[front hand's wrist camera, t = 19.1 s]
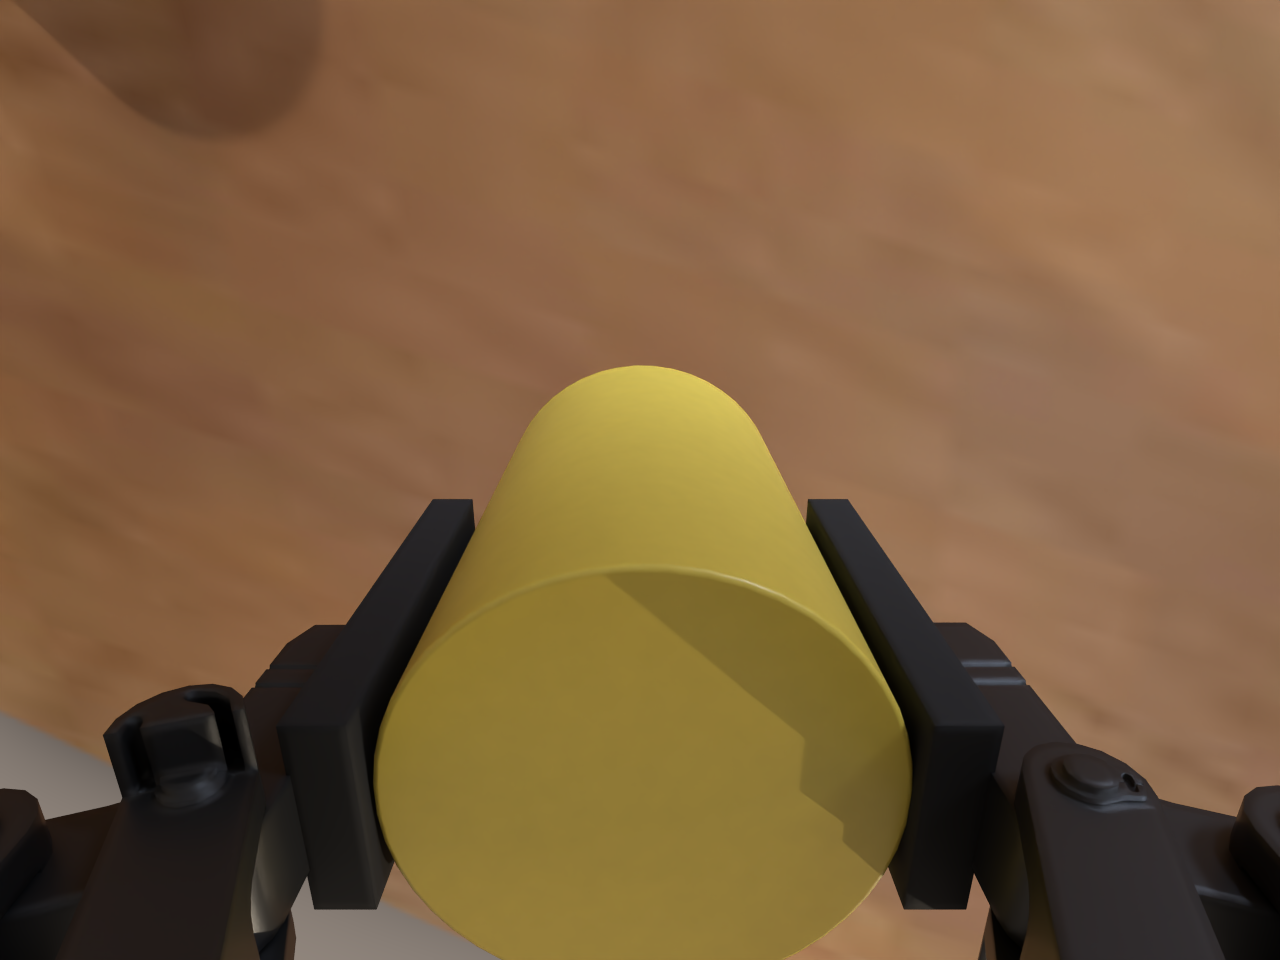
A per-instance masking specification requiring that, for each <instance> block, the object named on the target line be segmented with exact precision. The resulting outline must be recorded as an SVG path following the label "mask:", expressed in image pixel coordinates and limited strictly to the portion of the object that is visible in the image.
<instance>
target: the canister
mask: <svg viewBox="0 0 1280 960" xmlns="http://www.w3.org/2000/svg"><path fill="white" fill-rule="evenodd" d="M912 775H913V763H912V756H911V749H910V742H909V736H908V733H907V729H906V726H905V723H904V720H903V717H902V714H901V711H900V708H899V706H898V704H897V702H896V700H895V698H894V696H893V694H892V692H891V690H890V688H889V686H888V684H887V682H886V680H885V678H884V676H883V675H882V673H881V671H880V669H879V667H878V665H877V663H876V661H875V659H874V657H873V655H872V653H871V651H870V649H869V647H868V645H867V643H866V641H865V639H864V637H863V635H862V633H861V631H860V629H859V627H858V625H857V623H856V622H855V620H854V618H853V616H852V614H851V612H850V610H849V608H848V606H847V604H846V602H845V600H844V598H843V596H842V594H841V592H840V590H839V588H838V586H837V584H836V582H835V580H834V578H833V576H832V574H831V572H830V570H829V569H828V567H827V565H826V563H825V561H824V559H823V557H822V555H821V553H820V551H819V549H818V547H817V545H816V543H815V541H814V539H813V537H812V535H811V533H810V531H809V529H808V527H807V525H806V523H805V521H804V519H803V517H802V516H801V514H800V512H799V510H798V508H797V506H796V504H795V502H794V500H793V498H792V496H791V494H790V492H789V490H788V488H787V486H786V484H785V482H784V480H783V478H782V476H781V474H780V472H779V470H778V468H777V466H776V464H775V463H774V461H773V459H772V457H771V455H770V453H769V451H768V449H767V447H766V445H765V443H764V441H763V439H762V437H761V435H760V433H759V431H758V429H757V427H756V426H755V425H754V423H753V422H752V420H751V419H750V418H749V416H748V415H747V414H746V412H745V411H744V410H743V409H742V408H741V407H740V406H739V405H738V404H737V403H736V402H735V401H734V400H733V399H732V398H730V397H729V396H728V395H727V394H725V393H724V392H723V391H722V390H720V389H718V388H717V387H715V386H714V385H712V384H710V383H709V382H707V381H705V380H703V379H700V378H698V377H696V376H693V375H691V374H689V373H685V372H682V371H678V370H675V369H670V368H664V367H657V366H628V367H618V368H614V369H610V370H606V371H601V372H598V373H596V374H593V375H590V376H588V377H585V378H583V379H581V380H579V381H577V382H575V383H574V384H572V385H570V386H568V387H566V388H565V389H564V390H562V391H561V392H560V393H558V394H557V395H556V396H554V397H553V398H552V399H551V400H550V401H549V402H548V403H547V404H546V405H545V406H544V407H543V408H542V409H541V410H540V411H539V412H538V413H537V415H536V416H535V417H534V419H533V420H532V421H531V422H530V424H529V426H528V427H527V429H526V431H525V432H524V434H523V436H522V438H521V440H520V442H519V444H518V446H517V448H516V450H515V452H514V454H513V456H512V458H511V460H510V462H509V464H508V466H507V468H506V470H505V472H504V474H503V476H502V478H501V480H500V482H499V484H498V486H497V488H496V490H495V492H494V494H493V496H492V498H491V500H490V502H489V504H488V506H487V507H486V509H485V511H484V513H483V515H482V517H481V519H480V521H479V523H478V525H477V527H476V529H475V531H474V533H473V535H472V537H471V539H470V541H469V543H468V545H467V547H466V549H465V551H464V553H463V555H462V557H461V559H460V561H459V563H458V565H457V567H456V569H455V571H454V573H453V575H452V577H451V579H450V581H449V583H448V585H447V587H446V589H445V591H444V593H443V595H442V597H441V599H440V601H439V603H438V605H437V607H436V609H435V611H434V613H433V615H432V617H431V619H430V621H429V623H428V625H427V627H426V629H425V631H424V633H423V635H422V637H421V639H420V641H419V643H418V645H417V647H416V649H415V651H414V653H413V655H412V657H411V659H410V661H409V663H408V665H407V667H406V669H405V671H404V673H403V675H402V677H401V679H400V681H399V683H398V685H397V687H396V689H395V691H394V693H393V695H392V697H391V699H390V702H389V704H388V707H387V709H386V712H385V715H384V717H383V720H382V722H381V725H380V728H379V733H378V738H377V743H376V748H375V753H374V769H373V788H374V795H375V803H376V810H377V816H378V819H379V823H380V826H381V829H382V833H383V836H384V839H385V842H386V844H387V846H388V848H389V850H390V852H391V855H392V857H393V859H394V861H395V863H396V865H397V867H398V868H399V870H400V871H401V873H402V874H403V876H404V877H405V879H406V880H407V882H408V883H409V885H410V886H411V888H412V889H413V890H414V892H415V893H416V894H417V895H418V896H419V897H420V898H421V899H422V901H423V902H424V903H425V904H426V905H427V906H428V907H429V908H430V910H431V911H432V912H434V913H435V914H436V915H437V916H438V917H439V918H440V919H441V920H443V921H444V922H445V923H446V924H447V925H448V926H449V927H451V928H452V929H453V930H454V931H456V932H457V933H459V934H460V935H461V936H463V937H464V938H466V939H467V940H469V941H470V942H472V943H473V944H474V945H476V946H477V947H479V948H481V949H483V950H485V951H487V952H488V953H490V954H492V955H494V956H496V957H498V958H500V959H501V960H784V959H786V958H788V957H790V956H792V955H794V954H796V953H798V952H800V951H801V950H803V949H805V948H806V947H808V946H809V945H811V944H812V943H814V942H816V941H817V940H819V939H820V938H822V937H823V936H825V935H826V934H827V933H829V932H830V931H831V930H832V929H834V928H835V927H836V926H837V925H839V924H840V923H841V922H842V921H843V920H845V919H846V918H847V917H848V916H849V915H850V914H851V913H852V912H853V911H854V910H855V909H856V908H857V907H858V906H859V905H860V904H861V903H862V902H863V901H864V900H865V899H866V898H867V896H868V895H869V894H870V892H871V891H872V890H873V888H874V887H875V886H876V884H877V883H878V882H879V880H880V879H881V877H882V876H883V875H884V873H885V871H886V869H887V868H888V866H889V864H890V862H891V860H892V858H893V857H894V855H895V853H896V851H897V849H898V846H899V843H900V841H901V838H902V835H903V832H904V829H905V827H906V823H907V817H908V812H909V806H910V800H911V793H912Z"/></svg>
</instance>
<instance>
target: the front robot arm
mask: <svg viewBox="0 0 1280 960" xmlns="http://www.w3.org/2000/svg"><path fill="white" fill-rule="evenodd" d="M806 525H807V527H808V529H809V531H810V533H811V535H812V537H813V539H814V541H815V543H816V545H817V547H818V549H819V551H820V553H821V555H822V557H823V559H824V561H825V563H826V565H827V567H828V569H829V570H830V572H831V574H832V576H833V578H834V580H835V582H836V584H837V586H838V588H839V590H840V592H841V594H842V596H843V598H844V600H845V602H846V604H847V606H848V608H849V610H850V612H851V614H852V616H853V618H854V620H855V622H856V623H857V625H858V627H859V629H860V631H861V633H862V635H863V637H864V639H865V641H866V643H867V645H868V647H869V649H870V651H871V653H872V655H873V657H874V659H875V661H876V663H877V665H878V667H879V669H880V671H881V673H882V675H883V676H884V678H885V680H886V682H887V684H888V686H889V688H890V690H891V692H892V694H893V696H894V698H895V700H896V702H897V704H898V706H899V708H900V711H901V714H902V717H903V720H904V723H905V726H906V729H907V733H908V736H909V742H910V749H911V756H912V763H913V775H912V793H911V800H910V806H909V812H908V817H907V823H906V827H905V829H904V832H903V835H902V838H901V841H900V843H899V846H898V849H897V851H896V853H895V855H894V857H893V858H892V860H891V862H890V864H889V866H888V868H889V870H890V873H891V876H892V878H893V881H894V884H895V887H896V889H897V892H898V895H899V897H900V900H901V903H902V905H903V908H904V909H966V908H967V903H968V899H969V894H970V889H971V884H972V880H973V875H974V874H975V876H976V878H977V880H978V882H979V884H980V886H981V888H982V890H983V892H984V894H985V896H986V898H987V900H988V902H989V904H990V908H989V913H988V917H987V922H986V926H985V931H984V935H983V939H982V944H981V948H980V953H979V957H978V960H1280V786H1279V785H1277V786H1265V787H1256V788H1255V789H1253V790H1252V791H1251V792H1249V793H1248V794H1246V795H1245V796H1244V799H1243V801H1242V804H1241V807H1240V810H1239V812H1238V815H1237V817H1234V816H1229V815H1225V814H1220V813H1216V812H1211V811H1207V810H1202V809H1198V808H1193V807H1189V806H1184V805H1180V804H1175V803H1172V802H1168V801H1165V800H1161V799H1158V797H1157V795H1156V794H1155V792H1154V791H1153V789H1152V788H1151V786H1150V785H1149V784H1148V782H1147V781H1146V779H1144V778H1143V777H1142V776H1141V775H1139V774H1138V773H1137V772H1136V771H1134V770H1133V769H1132V768H1131V767H1129V766H1128V765H1127V764H1126V763H1124V762H1122V761H1120V760H1118V759H1116V758H1114V757H1112V756H1110V755H1108V754H1106V753H1104V752H1102V751H1099V750H1096V749H1093V748H1089V747H1086V746H1083V745H1079V744H1076V743H1075V741H1074V740H1073V739H1072V738H1071V736H1070V735H1069V734H1068V733H1067V732H1066V730H1065V729H1064V728H1063V727H1062V725H1061V724H1060V723H1059V722H1058V720H1057V719H1056V718H1055V717H1054V715H1053V714H1052V713H1051V712H1050V710H1049V709H1048V708H1047V707H1046V705H1045V704H1044V703H1043V702H1042V700H1041V699H1040V698H1039V697H1038V695H1037V694H1036V693H1035V692H1034V690H1033V689H1032V688H1031V687H1030V685H1026V680H1025V679H1024V678H1023V677H1022V675H1021V674H1020V673H1019V672H1018V670H1017V669H1016V668H1015V667H1012V666H1011V662H1010V660H1009V659H1008V658H1007V657H1006V655H1005V654H1004V653H1003V652H1002V651H1001V649H1000V648H999V647H998V646H997V644H996V643H995V642H994V641H993V640H991V639H990V638H988V637H987V636H985V635H984V634H982V633H981V632H979V631H978V630H976V629H975V628H973V627H972V626H970V625H969V624H967V623H933V622H932V620H931V619H930V617H929V616H928V614H927V613H926V612H925V610H924V609H923V607H922V606H921V604H920V603H919V601H918V600H917V599H916V597H915V596H914V594H913V593H912V591H911V590H910V588H909V587H908V586H907V584H906V583H905V581H904V580H903V578H902V577H901V575H900V574H899V573H898V571H897V570H896V568H895V567H894V565H893V564H892V563H891V561H890V560H889V558H888V557H887V555H886V554H885V552H884V551H883V550H882V548H881V547H880V545H879V544H878V542H877V541H876V539H875V538H874V537H873V535H872V534H871V532H870V531H869V529H868V528H867V526H866V525H865V524H864V522H863V521H862V519H861V518H860V516H859V515H858V513H857V512H856V511H855V509H854V508H853V506H852V505H851V503H850V502H849V500H848V499H808V507H807V518H806ZM474 531H475V523H474V512H473V500H472V499H433V500H432V501H431V503H430V504H429V506H428V507H427V509H426V510H425V511H424V513H423V514H422V516H421V517H420V519H419V520H418V522H417V523H416V524H415V526H414V527H413V529H412V530H411V532H410V533H409V535H408V536H407V537H406V539H405V540H404V542H403V543H402V545H401V546H400V547H399V549H398V550H397V552H396V553H395V555H394V556H393V558H392V559H391V560H390V562H389V563H388V565H387V566H386V568H385V569H384V571H383V572H382V573H381V575H380V576H379V578H378V579H377V581H376V582H375V584H374V585H373V586H372V588H371V589H370V591H369V592H368V594H367V595H366V597H365V598H364V599H363V601H362V602H361V604H360V605H359V607H358V608H357V609H356V611H355V612H354V614H353V615H352V617H351V618H350V620H349V621H348V622H347V624H346V625H314V626H313V627H311V628H310V629H308V630H307V631H305V632H304V633H302V634H301V635H299V636H298V637H296V638H295V639H293V640H292V641H290V642H289V643H287V644H286V645H285V647H284V648H283V649H282V650H281V652H280V653H279V654H278V656H277V657H276V658H275V659H274V661H273V662H272V663H271V664H270V669H266V671H265V672H264V673H263V674H262V676H261V677H260V678H259V679H258V681H257V682H256V686H255V688H251V689H250V691H249V692H248V693H247V694H246V696H245V697H244V698H243V696H242V695H241V694H239V693H238V692H237V691H235V690H234V689H233V688H232V687H226V686H221V685H216V684H205V685H192V686H186V687H182V688H178V689H175V690H171V691H167V692H163V693H161V694H159V695H156V696H154V697H152V698H150V699H147V700H145V701H143V702H141V703H139V704H137V705H135V706H134V707H132V708H131V709H130V710H128V711H127V712H125V713H124V714H122V715H121V716H120V717H118V718H117V719H116V720H115V721H114V722H113V723H112V725H111V726H110V727H109V728H108V730H107V731H106V732H105V733H104V734H103V737H104V740H105V743H106V747H107V750H108V753H109V756H110V759H111V763H112V766H113V769H114V772H115V775H116V779H117V782H118V785H119V788H120V791H121V795H122V800H121V802H120V803H116V804H113V805H110V806H106V807H101V808H97V809H92V810H88V811H83V812H79V813H74V814H70V815H65V816H61V817H56V818H52V819H47V820H45V819H44V816H43V813H42V810H41V808H40V805H39V802H38V799H37V798H35V797H34V796H32V795H31V794H30V793H28V792H27V791H25V790H16V789H5V788H4V789H0V960H294V953H295V943H296V935H295V928H294V922H293V917H292V913H291V907H292V905H293V903H294V901H295V899H296V897H297V895H298V893H299V891H300V889H301V887H302V885H303V883H304V881H305V879H306V877H308V882H309V886H310V891H311V896H312V900H313V905H314V909H377V907H378V904H379V901H380V899H381V896H382V893H383V891H384V888H385V885H386V883H387V880H388V877H389V875H390V872H391V869H392V866H393V864H394V859H393V857H392V855H391V852H390V850H389V848H388V846H387V844H386V842H385V839H384V836H383V833H382V829H381V826H380V823H379V819H378V816H377V810H376V803H375V795H374V788H373V769H374V753H375V748H376V743H377V738H378V733H379V728H380V725H381V722H382V720H383V717H384V715H385V712H386V709H387V707H388V704H389V702H390V699H391V697H392V695H393V693H394V691H395V689H396V687H397V685H398V683H399V681H400V679H401V677H402V675H403V673H404V671H405V669H406V667H407V665H408V663H409V661H410V659H411V657H412V655H413V653H414V651H415V649H416V647H417V645H418V643H419V641H420V639H421V637H422V635H423V633H424V631H425V629H426V627H427V625H428V623H429V621H430V619H431V617H432V615H433V613H434V611H435V609H436V607H437V605H438V603H439V601H440V599H441V597H442V595H443V593H444V591H445V589H446V587H447V585H448V583H449V581H450V579H451V577H452V575H453V573H454V571H455V569H456V567H457V565H458V563H459V561H460V559H461V557H462V555H463V553H464V551H465V549H466V547H467V545H468V543H469V541H470V539H471V537H472V535H473V533H474Z"/></svg>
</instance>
